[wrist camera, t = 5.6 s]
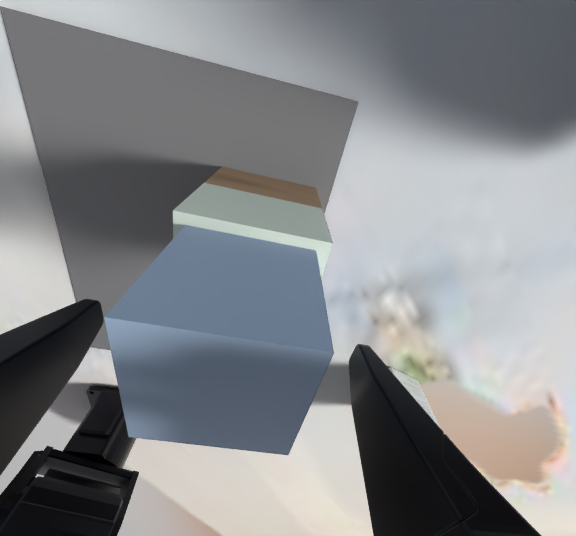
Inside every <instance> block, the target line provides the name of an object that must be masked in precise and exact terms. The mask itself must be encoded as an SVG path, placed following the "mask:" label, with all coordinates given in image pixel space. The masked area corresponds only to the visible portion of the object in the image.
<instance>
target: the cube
mask: <svg viewBox="0 0 576 536" xmlns="http://www.w3.org/2000/svg"><path fill="white" fill-rule="evenodd" d="M104 319H105V324H106V329H107V334H108V339H109V343H110V348H111V353H112V358H113V363H114V368H115V373H116V378H117V382H118V387H119V392H120V397H121V402H122V407H123V412H124V417H125V421H126V426H127V431H128V436H129V437H133V438H142V439H151V440H160V441H168V442H177V443H186V444H195V445H203V446H212V447H221V448H230V449H239V450H247V451H256V452H265V453H274V454H282V455H288V454H289V452H290V450H291V448H292V445H293V443H294V441H295V439H296V436H297V434H298V432H299V430H300V428H301V425H302V423H303V421H304V419H305V416H306V414H307V412H308V410H309V407H310V405H311V403H312V401H313V399H314V396H315V394H316V392H317V390H318V387H319V385H320V383H321V381H322V379H323V376H324V374H325V372H326V370H327V367H328V365H329V363H330V361H331V358H332V356H333V354H334V351H333V345H332V339H331V333H330V327H329V322H328V316H327V310H326V304H325V298H324V293H323V287H322V281H321V275H320V269H319V264H318V258H317V252H316V250H311V249H306V248H301V247H296V246H291V245H286V244H281V243H276V242H271V241H266V240H260V239H255V238H250V237H245V236H240V235H235V234H230V233H225V232H220V231H215V230H209V229H204V228H199V227H194V226H189V225H185V226H184V227H183V228H182V230H181V231H180V232H179V233H178V234H177V235H176V236H175V237H174V239H173V240H172V241H171V242H170V243H169V244H168V245H167V246H166V248H165V249H164V250H163V251H162V252H161V253H160V254H159V256H158V257H157V258H156V259H155V260H154V261H153V262H152V263H151V265H150V266H149V267H148V268H147V269H146V270H145V271H144V273H143V274H142V275H141V276H140V277H139V278H138V279H137V280H136V282H135V283H134V284H133V285H132V286H131V287H130V288H129V289H128V291H127V292H126V293H125V294H124V295H123V296H122V297H121V299H120V300H119V301H118V302H117V303H116V304H115V305H114V306H113V308H112V309H111V310H110V311H109V312H108V313H107V314H106V315H105V317H104Z"/></svg>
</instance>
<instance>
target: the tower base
mask: <svg viewBox="0 0 576 536" xmlns="http://www.w3.org/2000/svg"><path fill="white" fill-rule="evenodd" d="M204 183H208V184H212V185H217V186H222V187H226V188H231V189H235V190H240V191H244V192H249V193H254V194H258V195H263V196H267V197H272V198H276V199H281V200H285V201H290V202H295V203H299V204H304V205H308V206H313V207H317V208H322V205H321V202H320V199H319V196H318V192H317V189H316V188H315V187H310V186H306V185H302V184H297V183H293V182H288V181H284V180H279V179H275V178H271V177H266V176H262V175H257V174H253V173H249V172H244V171H240V170H235V169H231V168H227V167H221V168H220V169H219V170H218V171H217V172H216V173H215V174H213V175H212V176H211V177H210V178H209V179H208V180H207V181H206V182H204Z"/></svg>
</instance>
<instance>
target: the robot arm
mask: <svg viewBox="0 0 576 536" xmlns="http://www.w3.org/2000/svg"><path fill="white" fill-rule="evenodd" d="M103 322H104V317H103V312H102V307H101V303H100V302H99V301H97V300H91V299H84V300H81V301H79V302H76V303H74V304H71V305H69V306H67V307H64V308H62V309H60V310H57V311H55V312H53V313H50V314H48V315H46V316H43V317H41V318H38V319H36V320H34V321H31V322H29V323H27V324H24V325H22V326H20V327H17V328H15V329H12V330H10V331H8V332H5V333H3V334H1V335H0V475H1V474H2V472H3V471H4V470H5V468H6V467H7V465H8V464H9V463H10V461H11V460H12V458H13V457H14V456H15V454H16V453H17V452H18V450H19V449H20V447H21V446H22V444H23V443H24V442H25V441H26V439H27V438H28V436H29V435H30V434H31V432H32V431H33V429H34V428H35V427H36V425H37V424H38V422H39V421H40V420H41V418H42V417H43V415H44V414H45V413H46V411H47V410H48V409H49V407H50V406H51V404H52V403H53V402H54V400H55V399H56V398H57V396H58V395H59V393H60V392H61V391H62V389H63V388H64V386H65V385H66V384H67V382H68V381H69V380H70V378H71V377H72V375H73V374H74V372H75V371H76V370H77V368H78V367H79V365H80V363H81V362H82V360H83V358H84V357H85V355H86V353H87V351H88V350H89V348H90V346H91V344H92V343H93V341H94V339H95V337H96V336H97V334H98V332H99V330H100V329H101V327H102V325H103ZM349 374H350V390H351V404H352V411H353V417H354V423H355V429H356V435H357V441H358V447H359V452H360V458H361V464H362V470H363V476H364V482H365V488H366V493H367V499H368V505H369V511H370V517H371V523H372V529H373V534H374V536H541V535H540V534H539V533H538V532H537V531H536V530H535V529H534V528H533V527H532V526H531V525H530V524H529V523H528V522H527V521H526V520H525V519H524V518H523V517H522V516H521V515H520V513H519V512H518V511H517V510H516V509H515V508H514V507H513V506H512V505H511V504H510V503H509V502H508V501H507V500H506V499H505V498H504V497H503V496H502V495H501V494H500V493H499V492H498V491H497V490H496V489H495V488H494V487H493V486H492V485H491V484H490V483H489V482H488V481H487V479H486V478H485V477H484V476H483V475H482V474H481V473H480V472H479V471H478V470H477V469H476V468H475V467H474V466H473V465H472V464H471V463H470V461H469V460H468V459H467V458H466V457H465V456H464V455H463V454H462V452H461V451H460V450H459V449H458V448H457V447H456V446H455V445H454V443H453V442H452V441H451V440H450V439H449V438H448V436H447V435H445V434H444V433H443V431H442V430H441V428H440V427H439V426H438V425H437V424H436V423H435V422H434V420H433V419H432V418H431V417H430V416H429V415H428V413H427V412H426V411H425V410H424V409H423V408H422V406H421V405H420V404H419V403H418V402H417V401H416V400H415V398H414V397H413V396H412V395H411V394H410V393H409V391H408V390H407V389H406V388H405V387H404V386H403V385H402V383H401V382H400V381H399V380H398V379H397V378H396V376H395V375H394V374H393V373H392V372H391V371H390V369H389V368H388V367H387V366H386V365H385V364H384V363H383V361H382V360H381V359H380V358H379V357H378V356H377V354H376V353H375V352H374V351H373V350H372V349H371V347H369V346H368V345H362V344H358V345H357V346H356V347H355V349H354V351H353V353H352V355H351V357H350V360H349ZM87 394H88V398H89V401H90V404H91V407H92V408H91V409H90V411H89V412H88V414H87V415H86V417H85V418H84V420H83V421H82V423H81V424H80V426H79V427H78V429H77V430H76V432H75V433H74V435H73V436H72V438H71V439H70V441H69V442H68V444H67V445H66V447H65V449H64V450H63V451H59V450H56V449H53V447H49V446H47V447H46V448H45V450H44V451H34V453H33V454H32V455H31V457H30V458H29V459H28V461H27V462H26V463H25V465H24V466H23V467H22V469H21V470H20V471H19V473H18V474H17V475H16V477H15V478H14V479H13V480H12V481H11V483H10V484H9V485H8V486H7V488H6V489H5V490H4V491H3V493H2V494H1V495H0V536H117V534H118V532H119V529H120V527H121V524H122V521H123V519H124V516H125V513H126V510H127V507H128V504H129V501H130V498H131V495H132V492H133V489H134V486H135V483H136V480H137V477H138V474H139V472H137V471H129V470H126V469H122V468H123V466H124V464H125V462H126V459H127V457H128V455H129V453H130V451H131V449H132V447H133V444H134V442H135V440H136V438H133V437H129V436H128V431H127V426H126V421H125V417H124V412H123V407H122V402H121V397H120V392H119V390H116V389H108V388H101V387H93V386H91V387H89V389H88V390H87ZM37 474H41V475H44V477H37V478H36V477H35V476H36V475H37Z"/></svg>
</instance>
